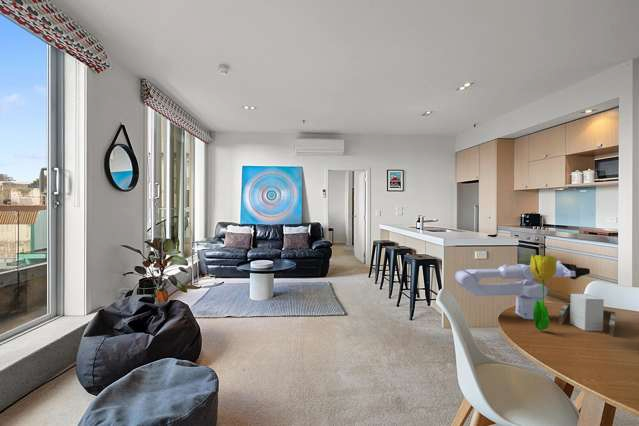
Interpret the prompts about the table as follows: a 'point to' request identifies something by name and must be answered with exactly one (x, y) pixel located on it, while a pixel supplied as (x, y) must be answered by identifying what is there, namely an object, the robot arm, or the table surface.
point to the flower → (543, 271)
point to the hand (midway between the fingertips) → (582, 269)
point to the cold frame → (607, 317)
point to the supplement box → (586, 312)
